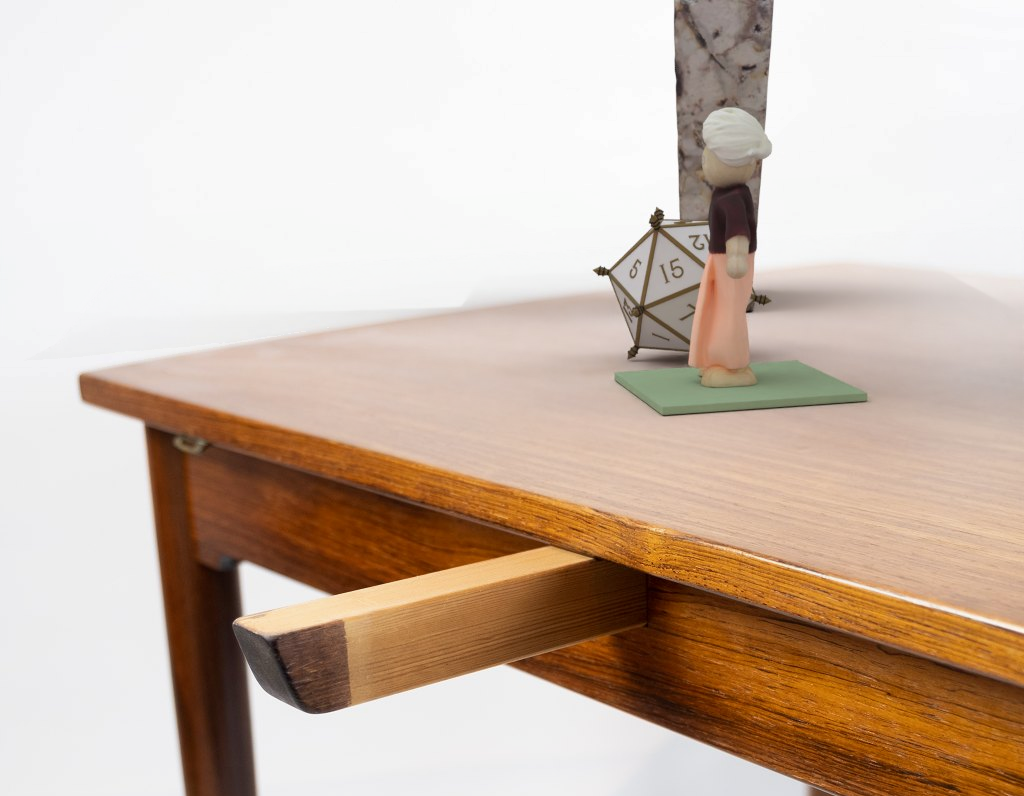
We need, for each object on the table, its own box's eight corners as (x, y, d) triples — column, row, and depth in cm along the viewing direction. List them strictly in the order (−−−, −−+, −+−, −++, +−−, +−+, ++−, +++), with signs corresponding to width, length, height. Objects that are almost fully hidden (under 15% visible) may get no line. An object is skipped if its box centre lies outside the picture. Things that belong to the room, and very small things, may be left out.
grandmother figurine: (674, 370, 79) (675, 108, 74) (746, 366, 79) (752, 105, 74) (704, 397, 72) (708, 109, 67) (784, 393, 72) (793, 106, 67)
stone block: (778, 312, 100) (788, -22, 93) (672, 315, 101) (674, -17, 93) (760, 288, 113) (768, -9, 105) (666, 291, 113) (667, -5, 105)
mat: (797, 367, 81) (797, 359, 80) (867, 401, 71) (867, 392, 71) (614, 379, 79) (614, 372, 79) (662, 415, 70) (662, 406, 70)
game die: (653, 421, 87) (606, 269, 89) (795, 365, 85) (743, 211, 87) (613, 367, 79) (562, 201, 81) (769, 304, 77) (712, 135, 79)
